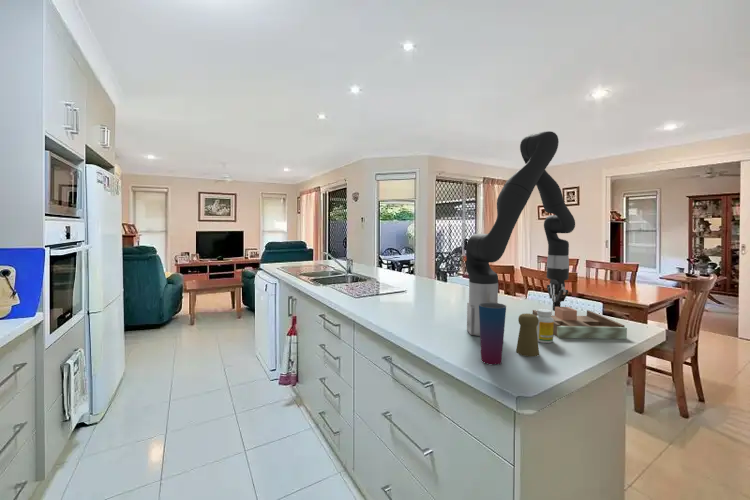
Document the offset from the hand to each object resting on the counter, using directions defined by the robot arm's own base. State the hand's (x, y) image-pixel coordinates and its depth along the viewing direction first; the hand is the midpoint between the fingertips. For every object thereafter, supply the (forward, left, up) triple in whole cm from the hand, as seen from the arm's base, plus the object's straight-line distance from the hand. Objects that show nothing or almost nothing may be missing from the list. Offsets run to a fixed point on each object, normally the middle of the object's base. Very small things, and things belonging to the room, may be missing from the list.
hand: (556, 311), depth 134 cm
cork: (-25, -38, -3) cm, 46 cm away
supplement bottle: (-16, -27, -3) cm, 32 cm away
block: (0, -7, -1) cm, 7 cm away
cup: (-37, -45, -3) cm, 59 cm away
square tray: (0, -14, -3) cm, 14 cm away
